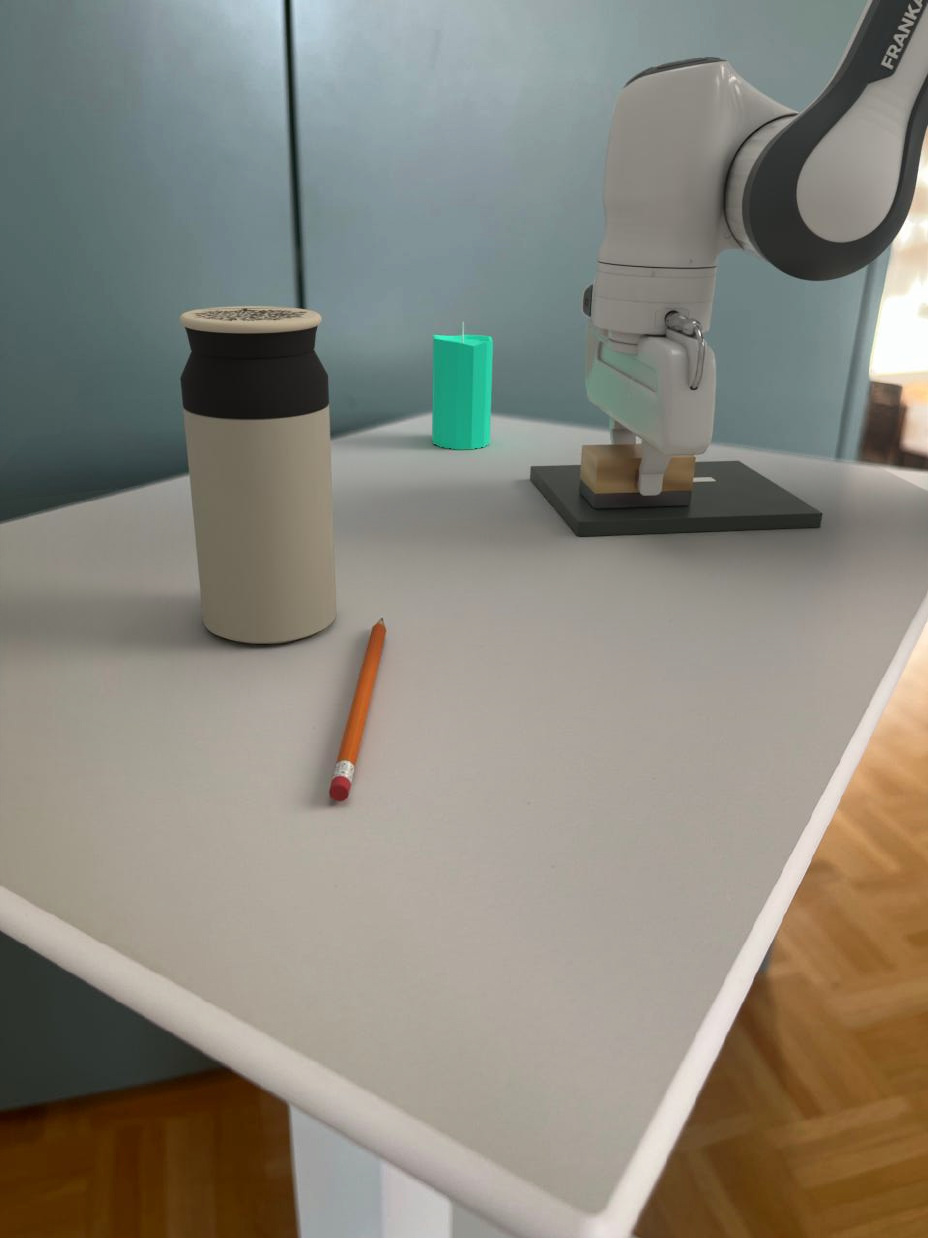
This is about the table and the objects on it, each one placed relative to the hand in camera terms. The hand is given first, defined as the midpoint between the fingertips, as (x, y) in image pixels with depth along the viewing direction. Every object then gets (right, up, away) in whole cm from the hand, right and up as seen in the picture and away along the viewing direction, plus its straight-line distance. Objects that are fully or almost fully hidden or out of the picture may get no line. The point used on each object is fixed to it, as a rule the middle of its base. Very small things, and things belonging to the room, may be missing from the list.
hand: (634, 482), depth 81 cm
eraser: (0, -1, +1) cm, 1 cm away
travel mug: (-26, -11, -20) cm, 34 cm away
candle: (-14, +7, +22) cm, 27 cm away
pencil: (-19, -15, -29) cm, 38 cm away
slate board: (+3, -1, +4) cm, 6 cm away
